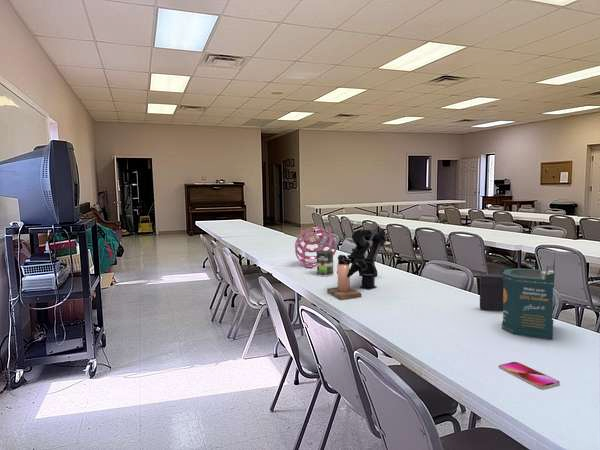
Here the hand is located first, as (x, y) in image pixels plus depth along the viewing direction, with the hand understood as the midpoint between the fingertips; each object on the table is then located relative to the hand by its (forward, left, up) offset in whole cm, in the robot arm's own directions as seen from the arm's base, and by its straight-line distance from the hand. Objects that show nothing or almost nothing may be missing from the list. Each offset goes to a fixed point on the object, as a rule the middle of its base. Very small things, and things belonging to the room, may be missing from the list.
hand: (342, 275), depth 205 cm
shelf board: (-1, 0, -10) cm, 10 cm away
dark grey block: (-29, +62, -10) cm, 69 cm away
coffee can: (-25, -41, -10) cm, 49 cm away
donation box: (-16, +81, -10) cm, 83 cm away
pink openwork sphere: (-38, -65, -10) cm, 76 cm away
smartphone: (+21, +97, -11) cm, 100 cm away
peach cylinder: (-1, 0, -8) cm, 8 cm away
